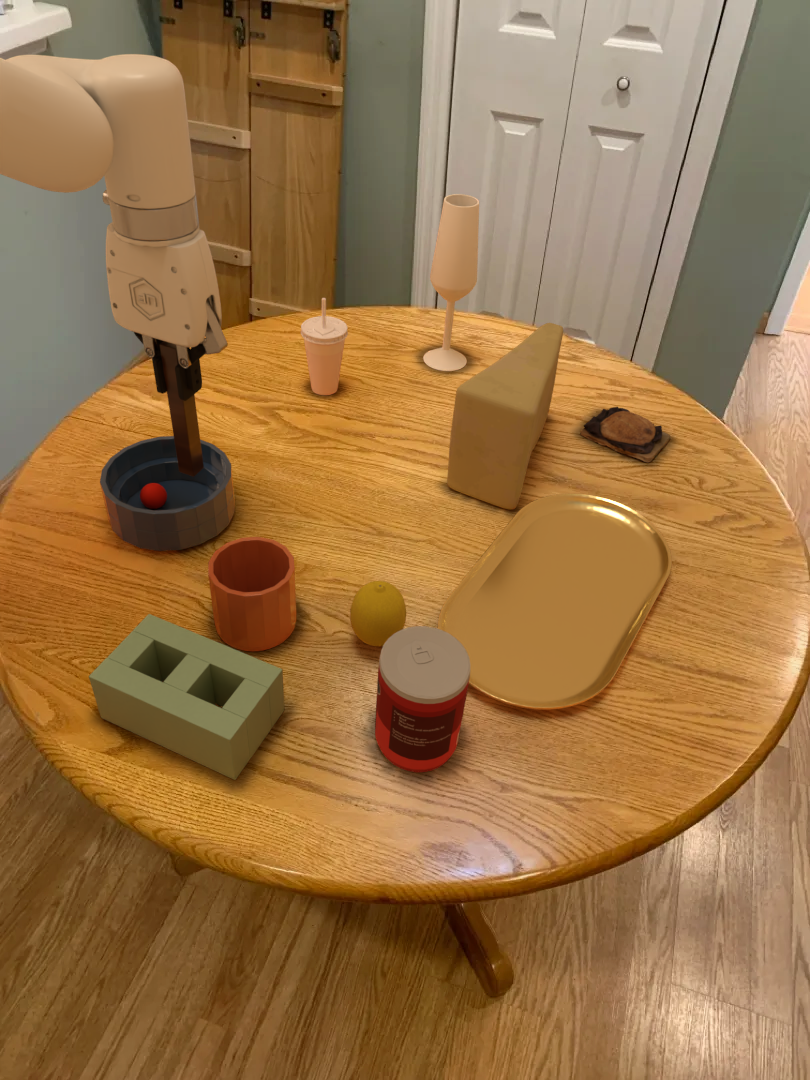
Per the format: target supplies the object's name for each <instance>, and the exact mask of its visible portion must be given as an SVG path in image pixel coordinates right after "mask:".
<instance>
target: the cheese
mask: <svg viewBox="0 0 810 1080" xmlns="http://www.w3.org/2000/svg"><path fill="white" fill-rule="evenodd" d="M563 336H564V327H563V326H562V325H560V324H557V323H553V322H545V324H542V325H541V326H539V327H538V328H536V329H535V330H534V331H533V332H532V333H531V334H530V335H528V336H527V337H526V338H525V339H524V340H523V341H521V343H519V344H518V345H516V346H515V347H514V348H513V349H511V350H510V351H509V352H508V353H506V354H505V355H504V356H502V357H501V358H499V359H498V360H497V361H495V362H494V363H492V364H491V365H489V366H487V367H486V368H484V369H482V370H481V371H479V372H478V373H476V374H475V375H473V376H472V377H470V378H469V379H467V380H466V381H464V382H463V383H461V384H460V385H459V386H458V387H457V389H456V391H455V397H454V405H453V412H452V418H451V419H452V420H451V427H450V428H451V429H450V438H449V451H448V465H447V478H446V484H447V486H448V487H449V488H450V489H451V490H454V491H456V492H458V493H461V494H463V495H466V496H468V497H470V498H474V499H476V500H479V501H482V502H485V503H488V504H490V505H492V506H496V507H499V508H502V509H506V510H515V509H516V508H517V507H518V504H519V501H520V498H521V494H522V491H523V487H524V483H525V478H526V475H527V471H528V466H529V463H530V459H531V455H532V452H533V450H534V448H535V447H536V445H537V443H538V441H539V440H540V439H539V438H540V437H541V435H542V431H543V429H544V427H545V424H546V421H547V418H548V415H549V411H550V408H551V403H552V398H553V393H554V388H555V382H556V376H557V369H558V362H559V357H560V351H561V345H562V341H563Z"/></svg>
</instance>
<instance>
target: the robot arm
mask: <svg viewBox="0 0 810 1080" xmlns="http://www.w3.org/2000/svg"><path fill="white" fill-rule="evenodd" d="M186 99H187V98H186V91H185V84H184V79H183V75H182V74H181V72H180V70H179V69H178V67H177V66H176V65H175V64H174V63H172V62H171V61H170V60H168V59H165V58H162V57H161V56H160V57H159V56H156V55H151V54H140V53H126V54H125V53H123V54H115V55H109V56H107V57H103V58H100V59H91V58H89V59H88V58H74V57H63V56H53V55H44V54H20V55H15V56H12V57H9V58H7V59H4V58H3V57H0V175H1V176H4V177H7V178H10V179H12V180H15V181H18V182H19V183H23V184H26V185H29V186H32V187H35V188H38V189H41V190H45V191H49V192H54V193H64V194H68V193H69V194H70V193H77V192H80V191H84V190H85V191H86V190H87V189H89V188H91V187H93V186H95V185H96V184H98V182H100V181H101V180H102V179H103V178H104V183H105V187H106V189H105V190H104V191H103V192H102V202H103V204H105V206H106V205H107V206H109V210H110V216H111V222H110V223H108V225H107V226H106V235H105V267H106V268H105V269H106V278H107V280H106V281H107V287H108V294H109V296H108V297H109V301H110V302H109V303H110V307H111V312H112V316H113V319H114V321H115V323H116V324H118V325H119V326H120V327H121V328H123V329H126V330H127V331H130V332H133V334H134V336H135V337H136V338H137V339H138V340H139V341H140V343H141V344H142V345H143V351H144V354H145V355H146V356H147V357H148V358H151V361H152V368H153V375H154V380H155V386H156V391H157V393H159V394H163V395H164V394H165V393H166V394H167V389H166V382H165V376H164V369H163V363H162V357H161V351H160V344H161V343H162V342H164V341H166V342H169V343H172V344H176V347H177V354H178V361H179V364H178V365H176V367H175V374H176V381H177V388H178V395H179V398H180V399H181V400H184V401H187V400H188V399H189V398H190V397H192V396H193V395H195V394H197V393H198V392H199V391H201V389H202V388H203V376H202V369H201V361H200V359H201V358H202V357H204V356H205V355H213V354H214V355H215V354H220V353H221V352H223V350H225V349H226V348H228V341H227V339H226V336H225V333H224V332H223V330H222V328H221V327H222V322H223V321H222V320H223V319H222V317H223V316H222V305H221V297H220V289H219V283H218V277H217V273H216V268H215V264H214V259H213V256H212V251H211V249H210V245H209V242H208V238H207V236H206V232H205V231H204V230H203V229H200V221H199V212H198V211H199V210H198V202H197V193H196V183H195V173H194V165H193V164H194V163H193V154H192V146H191V145H192V144H191V137H190V127H189V119H188V109H187V100H186Z"/></svg>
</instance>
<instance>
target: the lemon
mask: <svg viewBox="0 0 810 1080" xmlns="http://www.w3.org/2000/svg"><path fill="white" fill-rule="evenodd" d="M349 617H350V618H349V620H350V625H351V628H352V630H353V633H354V634H355V635H356V637H357V638H358V640H360V641H361V642H363V643H365V644H366V645H368V646H372V647H383V645H384V644H385V642H386V641H387V640H388V638H390V637H391V636H392V635H393V634H394V633H396V632H398V631H400V630H402V629H405V625H406V620H407V607H406V603H405V599H404V596H403V594H402V593H401V591H400V590H399V589H398V588H397V587H396V586H395V585H394V584H392V583H390V582H387V581H385V580H374V581H370V582H367V583H366V584H364V585H363V586H361V587H360V588H359V589H358V590H357V592H356V593H355V595H354V597H353V599H352V602H351V605H350V611H349Z"/></svg>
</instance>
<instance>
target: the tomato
mask: <svg viewBox="0 0 810 1080" xmlns="http://www.w3.org/2000/svg"><path fill="white" fill-rule="evenodd" d="M140 499H141V502H142V503H143V505H144V506H146V507H147V508H150V509H157V508H160V507H162V506H163V505H164V504H165V502H166V500H167V493H166V490H165V489H164V487H163V486H161V485H160V484H157V483H150V484H147V485H145V486H144V487H143V488H142V490H141V492H140Z"/></svg>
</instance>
